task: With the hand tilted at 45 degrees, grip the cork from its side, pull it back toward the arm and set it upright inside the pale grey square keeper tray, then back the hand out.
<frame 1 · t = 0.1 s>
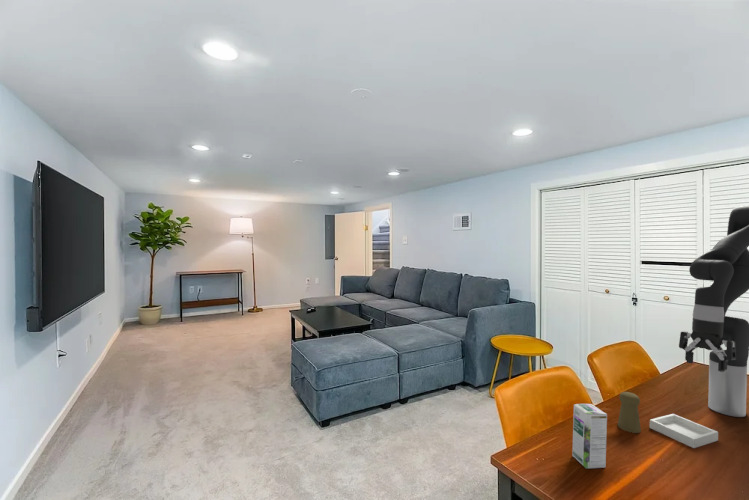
hand: (704, 366, 115), 17 cm above the table, tool pointing down, fingers open, 8 cm apart
cork: (629, 428, 109), on the table
keeper tray: (682, 433, 105), on the table
syrup box: (588, 462, 92), on the table
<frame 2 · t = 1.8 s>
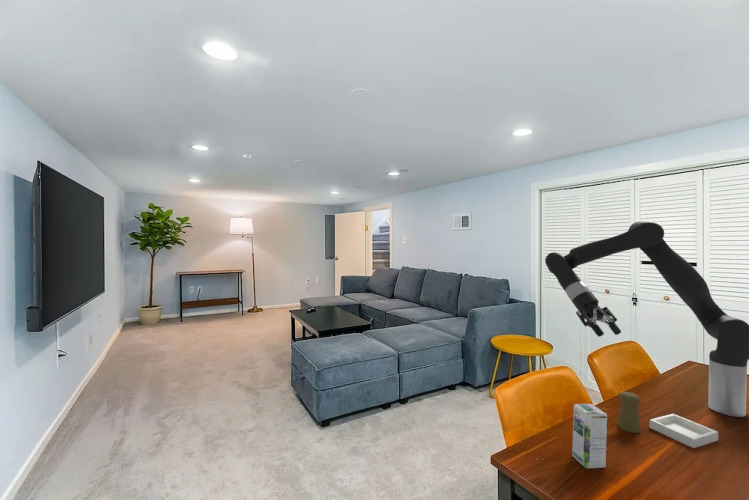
hand: (610, 334, 118), 27 cm above the table, tool tilted 45°, fingers open, 8 cm apart
nothing on the table moved.
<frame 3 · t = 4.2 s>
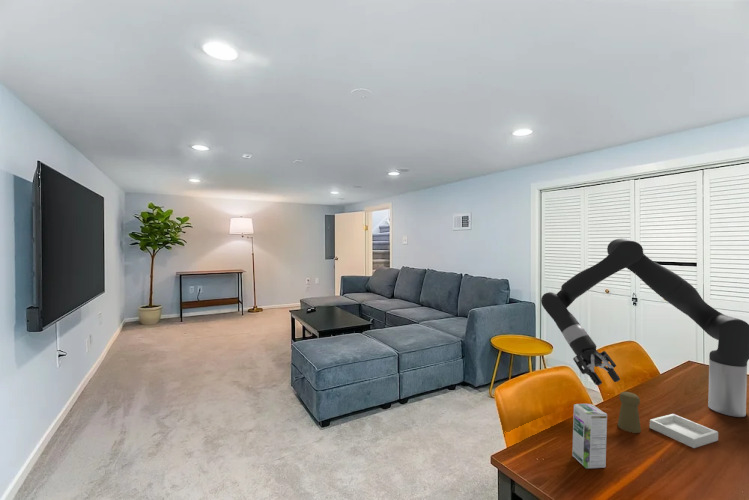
hand: (608, 382, 115), 12 cm above the table, tool tilted 45°, fingers open, 8 cm apart
nothing on the table moved.
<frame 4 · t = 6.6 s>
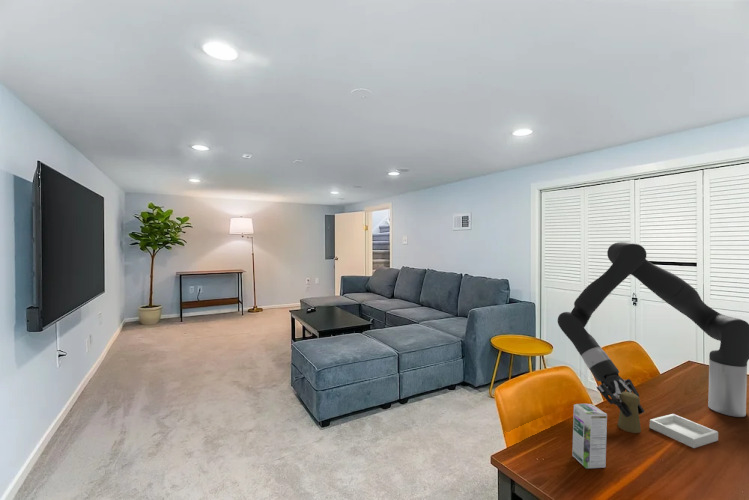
hand: (635, 414, 107), 5 cm above the table, tool tilted 45°, fingers closed on cork, 5 cm apart
cork: (629, 428, 109), on the table, touching gripper
everything else where it was.
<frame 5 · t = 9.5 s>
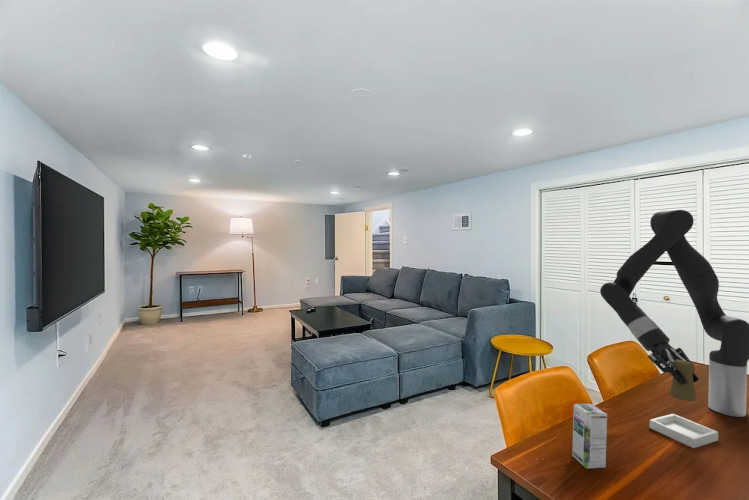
hand: (690, 382, 104), 17 cm above the table, tool tilted 45°, fingers closed on cork, 5 cm apart
cork: (682, 397, 105), point 11 cm above the table, touching gripper
everything else where it was.
when the fingers open (7 cm above the table, at t = 12.4 s): cork drops 1 cm, resting on keeper tray.
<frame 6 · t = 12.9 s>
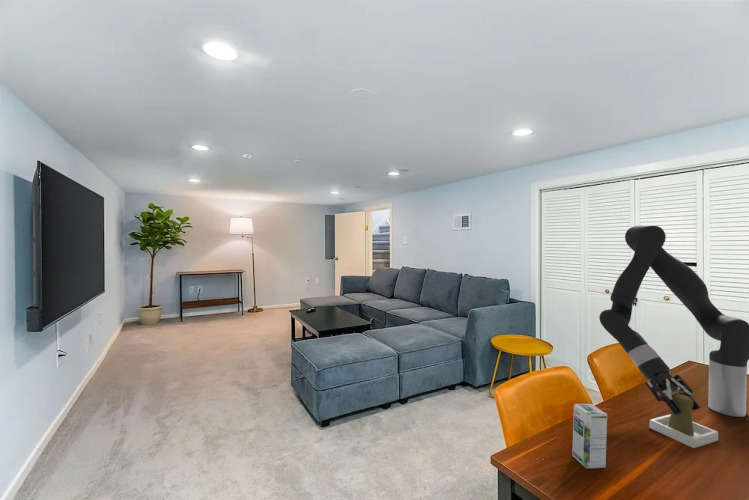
hand: (688, 411, 104), 8 cm above the table, tool tilted 45°, fingers open, 8 cm apart
cork: (680, 431, 106), resting on keeper tray
everything else where it was.
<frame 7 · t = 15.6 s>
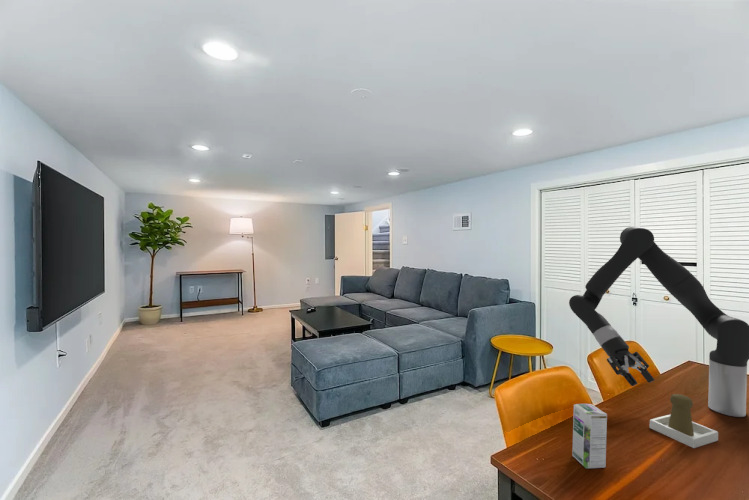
hand: (643, 383, 117), 11 cm above the table, tool tilted 45°, fingers open, 8 cm apart
nothing on the table moved.
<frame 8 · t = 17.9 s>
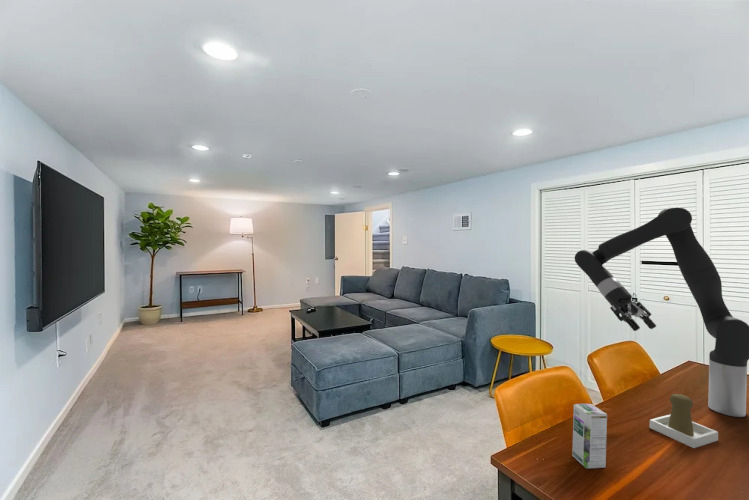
hand: (645, 328, 121), 29 cm above the table, tool tilted 45°, fingers open, 8 cm apart
nothing on the table moved.
at the end: cork 0.6 cm off-centre on the keeper tray, point 0.4 cm above the keeper tray's base; cork tilted 0°; the gripper is holding nothing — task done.
